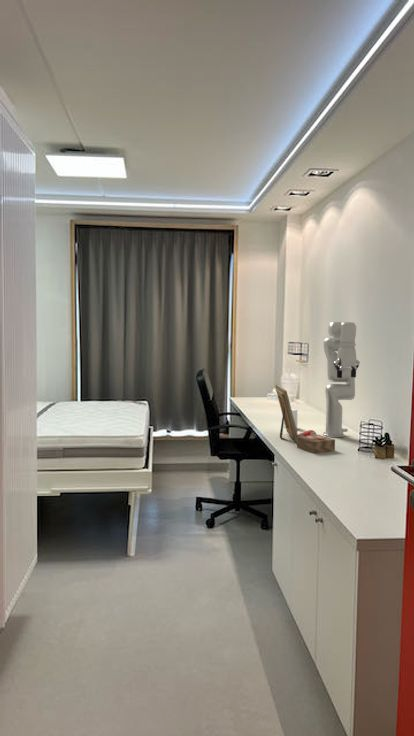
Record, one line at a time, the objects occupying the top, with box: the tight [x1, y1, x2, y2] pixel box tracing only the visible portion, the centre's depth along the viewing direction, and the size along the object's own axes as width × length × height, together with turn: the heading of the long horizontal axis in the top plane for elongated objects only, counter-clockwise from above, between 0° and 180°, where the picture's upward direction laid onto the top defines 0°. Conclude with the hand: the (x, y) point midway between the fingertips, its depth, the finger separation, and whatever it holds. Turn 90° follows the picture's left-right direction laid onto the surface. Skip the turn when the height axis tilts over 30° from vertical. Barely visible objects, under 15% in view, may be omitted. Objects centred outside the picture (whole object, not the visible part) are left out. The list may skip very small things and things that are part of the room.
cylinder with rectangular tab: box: [283, 408, 298, 430], centre depth 344 cm, size 9×9×12 cm
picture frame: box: [275, 383, 299, 444], centre depth 309 cm, size 33×10×30 cm, turn 1°
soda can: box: [296, 429, 318, 441], centre depth 296 cm, size 7×7×13 cm
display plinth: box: [296, 434, 336, 454], centre depth 283 cm, size 14×14×6 cm
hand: (346, 377), depth 284 cm, fingers open, 9 cm apart
